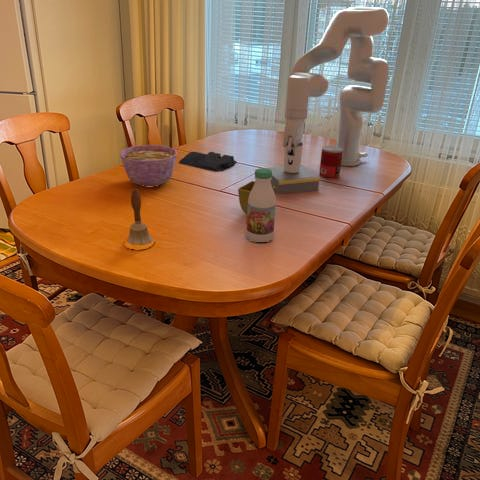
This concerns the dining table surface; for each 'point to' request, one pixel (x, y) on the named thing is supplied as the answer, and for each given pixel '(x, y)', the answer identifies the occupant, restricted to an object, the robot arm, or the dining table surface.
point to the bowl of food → (149, 164)
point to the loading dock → (293, 180)
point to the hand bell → (138, 223)
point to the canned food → (330, 162)
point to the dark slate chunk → (208, 161)
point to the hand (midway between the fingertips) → (291, 164)
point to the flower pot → (246, 195)
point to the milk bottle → (261, 208)
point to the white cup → (296, 159)
